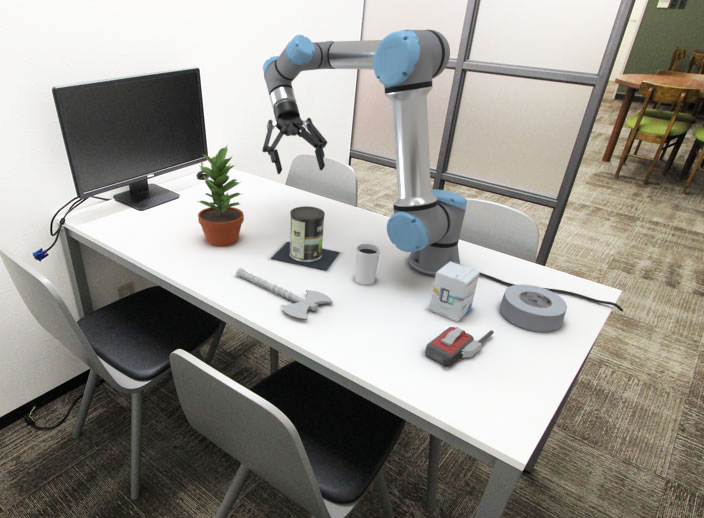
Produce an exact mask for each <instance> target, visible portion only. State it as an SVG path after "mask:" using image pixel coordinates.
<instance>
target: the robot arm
mask: <svg viewBox="0 0 704 518" xmlns="http://www.w3.org/2000/svg"><path fill="white" fill-rule="evenodd" d="M450 58H451V47H450V43H449V41H448V39H447V38H446V36H444V35H443V34H442V33H441V32H439V31H437V30H435V29H400V30H398V31H393V32H391V33H388V34H387V35H386V36H384V37H383V38H382V39H367V40H343V41H342V40H338V41H334V40H326V41H316V42H315V41H314V42H313V41H312V40H311V39H310V38H309V37H308V36H304V34H296V35H294V37H292V39H291V40H289V42H287V44H286V46H285V48H284V49H283V50H282V52H280V54H279V55H274V56H270V57H269V59H266V60H265V61H264V62H263V65H262V71H263V78H264V81H265V84H266V88H267V93H268V95H269V100H270V104H271V107H272V111H273V115H274V119H275V121H273V120H272V119H269V120H268V121H267V124H266V128H267V129H266V135H265V139H264V142H263V146H262V149H261V151H262V152H263V153H267V155H269V157H270V161H271V163H272V164H274V165H275V169H276V173H277V175H281V172H282V170H283V167H282V163H281V158H280V154H279V151H278V148H277V146H278V144H279V143H280V141H281V140H282V138H283V136H286V137H291V136H293V137H295V136H298V137H299V138H302V139H303V140H304V141H306V142H307V143H308V144H309V145H310V146H312V147H313V148H314V154H315V158H316V161H317V165H318V168H319V171H323V169H324V168H325V167H326V165H325V164H326V163H325V161H324V158H325V157H326V155H325V151H324V149H325V148H326V146H327V145H328V141H327V139H326V138H325V137H324V136H323V135H322V133H321V132H320V130H319V129H318V128H317V127H316V126H315V125H314V123H313V121H312V118H310V117H307V118H306V119H304V120H303V119H302V118H301V114H300V111H299V107H298V106H299V105H298V104H297V99H296V96H295V92H294V88H293V85H292V82H293V81H294V80H295V79H296V78H297V77H298V76H299V75H300V73H302V72H305V71H315V70H316V71H317V70H367V71H370V70H373V73H374V76H375V77H376V79H378V81H379V83H381V84H382V85H383V88H384V95H385V96H386V98H388V99H389V101H390V102H391V111H392V112H391V113H392V126H393V140H394V141H393V142H394V155H395V167H396V181H397V182H396V183H397V197H396V198H395V199H394V200H393V202H392V206H393V214H391V216H390V217H389V219H388V220H387V222H386V233H387V236H388V239H389V241H390V242H391V243H392V244H393V245H394V246H395V248H397V249H398V250H400V251H402V252H405V253H409V257H408V265H409V266H410V268H412V269H413V270H414V271H416V272H418V273H420V274H423V275H425V276H426V275H427V276H430V277H436V272H437V271H438V270H440V269H441V268H442V267H444V266H445V265H446V264H447V263H449V262H450V261H451V262H454V263H457V264H460V265H461V260H460V251H459V240H460V236H461V232H462V228H463V224H464V220H465V215H466V212H467V203H468V202H467V198H466V197H465V196H464V195H462V194H460V193H457V192H454V191H451V190H445V189H432V183H431V182H432V181H431V162H430V161H431V159H430V141H429V119H428V99H427V98H428V95H429V94H430V92H431V91H432V89H433V87H434V86H433V79H435V78H437V77H438V76H440V75H441V74H442V73H443V72H444V70H445V69H446V68H447V66H448V64H449V61H450ZM275 128H276V129H278V130H279V132H278V134H277V135H276V137H275V138H274V140H273V142H272V144H271V145H269V144H270V140H271V138H272V133H273V130H275ZM479 276H482V277H484V278H487V279H490V280H493V281H495V282H497V283H500V284H504V285H506V286H509V287H510V286H513V285H516V284H514V283H511V282H508V281H504V280H502V279H499V278H497V277H494V276H491V275H489V274H486V273H483V272H480V273H479ZM543 288H544V289H547V290H549V291H551V292H553V293H560V294H566V295H571V296H574V297H578V298H581V299H584V300H588V301H591V302H594V303H597V304H602V305H603V304H604V305H610V306H613V307H616V308H617V309H618V310H619V311H620V312H624V309H623V307H621V305H619V304H617V303H615V302H612V301H607V300H600V299H596V298H594V297H593V298H592V297H590V296H586V295H583V294H580V293H577V292H572V291H569V290H563V289H556V288H547V287H543Z"/></svg>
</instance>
